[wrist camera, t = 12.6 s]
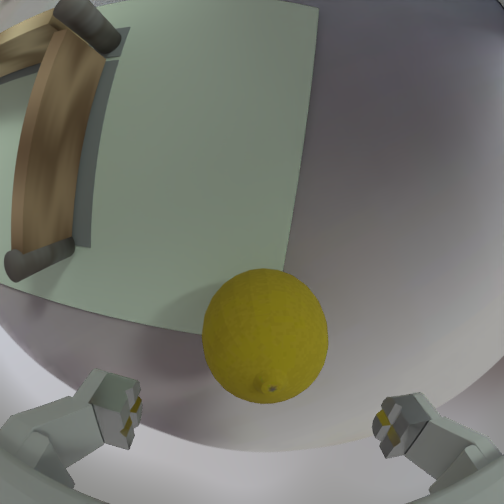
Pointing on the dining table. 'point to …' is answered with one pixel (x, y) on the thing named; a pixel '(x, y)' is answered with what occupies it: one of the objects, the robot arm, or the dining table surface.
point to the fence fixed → (43, 27)
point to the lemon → (264, 336)
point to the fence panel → (51, 155)
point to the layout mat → (177, 157)
